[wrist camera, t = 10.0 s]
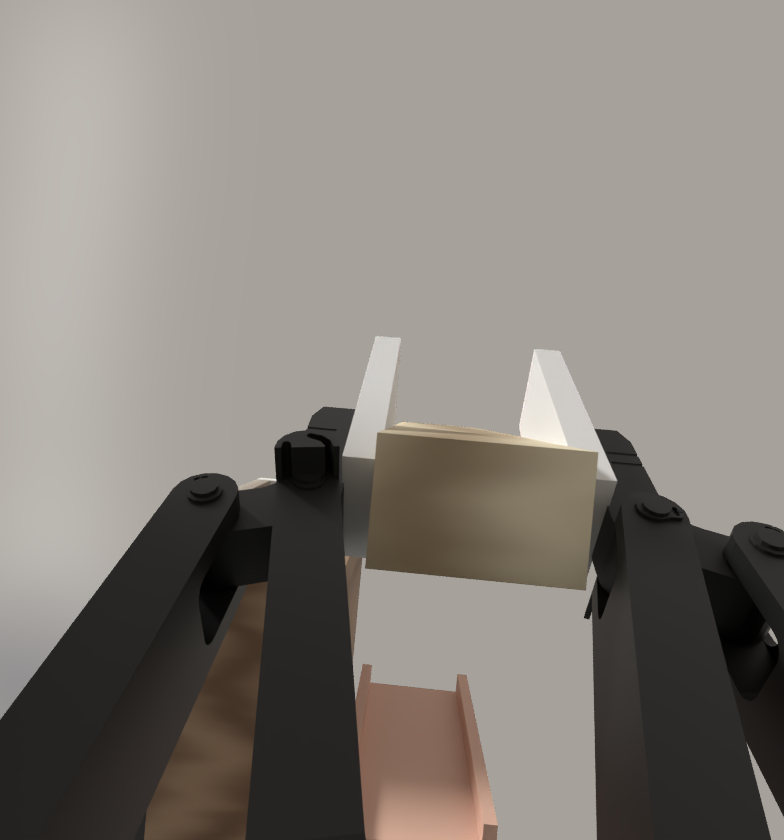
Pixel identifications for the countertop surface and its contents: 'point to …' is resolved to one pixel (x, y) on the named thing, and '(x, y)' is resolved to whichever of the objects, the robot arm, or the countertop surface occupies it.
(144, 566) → the robot arm
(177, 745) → the stand
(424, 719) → the pink rectangular box
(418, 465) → the slat
